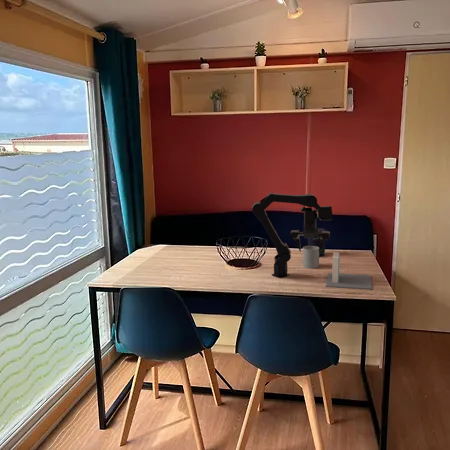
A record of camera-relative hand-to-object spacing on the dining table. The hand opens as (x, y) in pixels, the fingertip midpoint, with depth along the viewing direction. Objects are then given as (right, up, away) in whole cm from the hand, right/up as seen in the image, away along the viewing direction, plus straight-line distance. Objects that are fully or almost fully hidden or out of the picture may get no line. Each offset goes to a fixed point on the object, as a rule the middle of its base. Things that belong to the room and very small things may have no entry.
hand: (309, 251), depth 223 cm
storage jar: (+11, -4, +39) cm, 40 cm away
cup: (+4, -9, +18) cm, 20 cm away
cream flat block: (+11, -13, -7) cm, 18 cm away
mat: (+17, -13, -8) cm, 23 cm away
